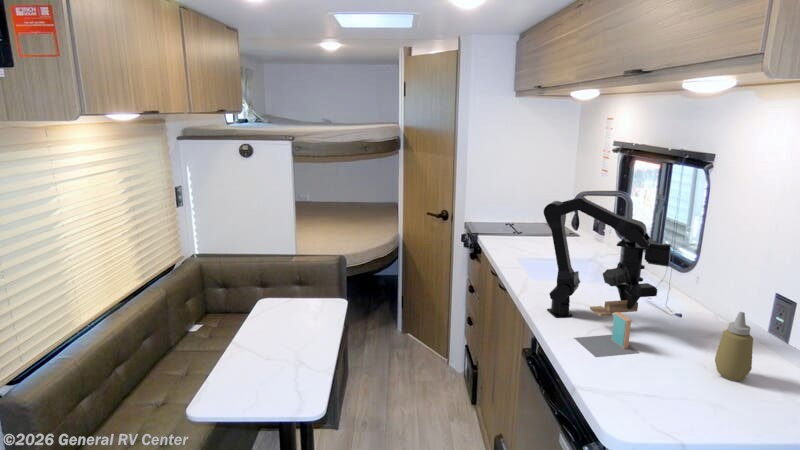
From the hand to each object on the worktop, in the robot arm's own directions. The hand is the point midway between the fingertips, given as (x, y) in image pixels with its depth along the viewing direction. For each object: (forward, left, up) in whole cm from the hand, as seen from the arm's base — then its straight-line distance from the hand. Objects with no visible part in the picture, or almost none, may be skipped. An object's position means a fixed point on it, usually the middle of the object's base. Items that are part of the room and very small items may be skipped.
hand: (626, 307), depth 151 cm
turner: (0, -4, -1) cm, 4 cm away
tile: (+11, -9, -6) cm, 16 cm away
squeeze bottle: (+31, +10, -7) cm, 33 cm away
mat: (+11, -14, -7) cm, 19 cm away
